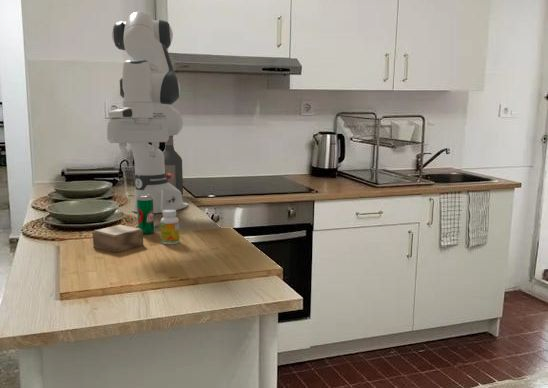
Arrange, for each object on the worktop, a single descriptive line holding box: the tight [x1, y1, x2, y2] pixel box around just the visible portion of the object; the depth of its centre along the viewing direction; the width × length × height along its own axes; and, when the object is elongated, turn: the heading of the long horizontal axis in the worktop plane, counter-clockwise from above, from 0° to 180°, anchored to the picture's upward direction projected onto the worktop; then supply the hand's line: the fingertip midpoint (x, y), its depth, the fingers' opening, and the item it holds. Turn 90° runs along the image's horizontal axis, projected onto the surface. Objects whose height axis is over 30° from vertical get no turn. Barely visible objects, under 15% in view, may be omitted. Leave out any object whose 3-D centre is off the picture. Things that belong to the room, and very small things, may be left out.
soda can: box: [136, 195, 155, 235], centre depth 178 cm, size 5×5×12 cm
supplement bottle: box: [160, 209, 180, 245], centre depth 166 cm, size 5×5×10 cm
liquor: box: [162, 135, 184, 196], centre depth 242 cm, size 9×9×30 cm
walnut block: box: [92, 224, 144, 254], centre depth 162 cm, size 10×10×5 cm
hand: (140, 157), depth 172 cm, fingers open, 8 cm apart
